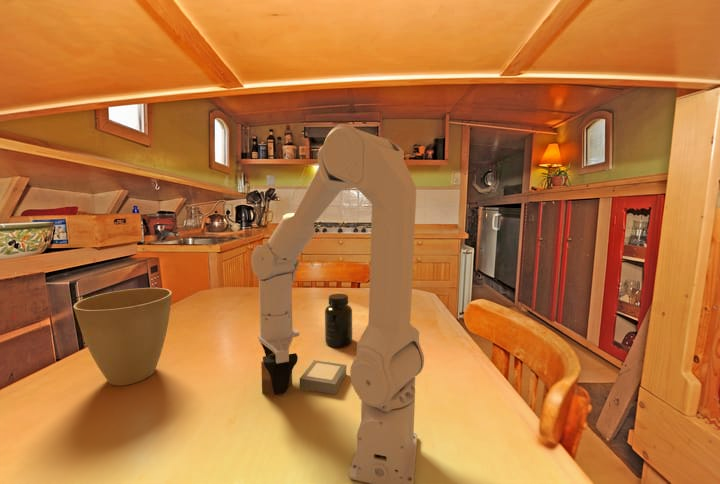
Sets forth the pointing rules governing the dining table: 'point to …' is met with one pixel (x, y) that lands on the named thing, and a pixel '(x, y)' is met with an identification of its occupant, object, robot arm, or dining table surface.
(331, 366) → the base tile
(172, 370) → the dining table surface
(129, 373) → the plant pot
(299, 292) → the dining table surface
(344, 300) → the supplement bottle
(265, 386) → the walnut block
